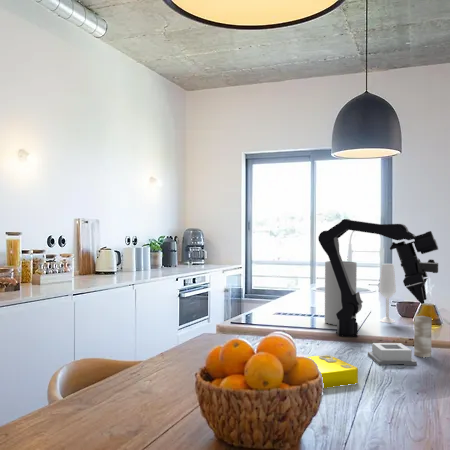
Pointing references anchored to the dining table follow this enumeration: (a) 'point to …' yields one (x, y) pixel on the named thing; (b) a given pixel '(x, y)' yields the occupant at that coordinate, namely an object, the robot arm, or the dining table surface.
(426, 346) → the beige cylinder
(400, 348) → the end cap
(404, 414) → the dining table surface
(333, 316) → the cylinder vase
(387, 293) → the champagne flute
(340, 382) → the element tile
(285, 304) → the dining table surface
